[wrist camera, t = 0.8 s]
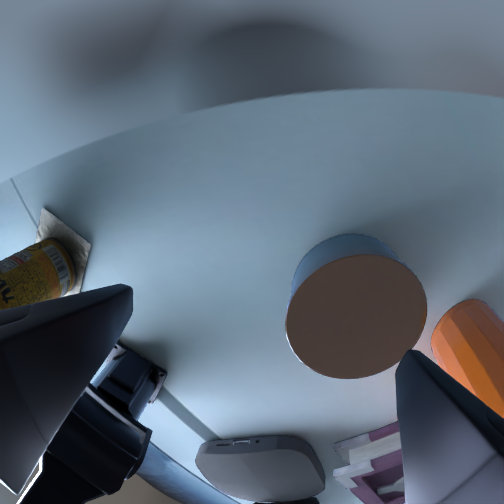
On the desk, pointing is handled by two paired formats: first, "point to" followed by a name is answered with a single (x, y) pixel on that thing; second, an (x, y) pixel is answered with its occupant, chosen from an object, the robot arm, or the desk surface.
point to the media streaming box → (262, 468)
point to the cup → (473, 350)
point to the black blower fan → (297, 501)
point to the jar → (353, 308)
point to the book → (373, 466)
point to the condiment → (44, 266)
